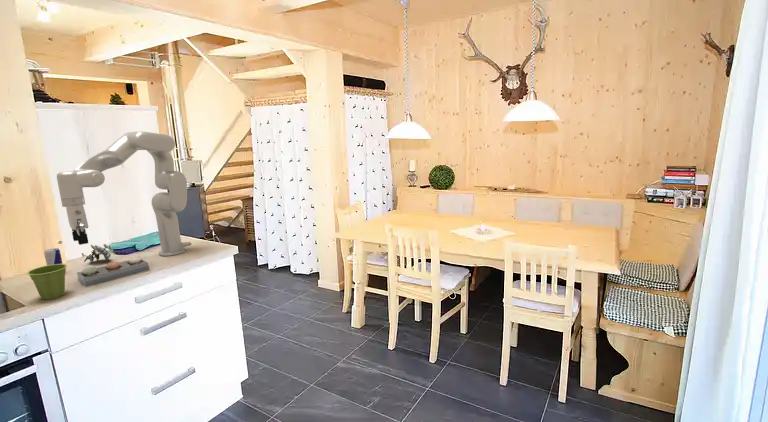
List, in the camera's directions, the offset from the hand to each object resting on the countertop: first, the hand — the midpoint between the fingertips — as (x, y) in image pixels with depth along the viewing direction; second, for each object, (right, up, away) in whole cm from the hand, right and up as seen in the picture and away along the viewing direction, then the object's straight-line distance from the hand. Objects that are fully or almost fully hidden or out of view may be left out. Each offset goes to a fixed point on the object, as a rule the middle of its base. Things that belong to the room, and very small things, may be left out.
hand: (81, 242), depth 166 cm
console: (+8, -15, +10) cm, 20 cm away
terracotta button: (+7, -12, +9) cm, 17 cm away
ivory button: (+13, -10, +15) cm, 23 cm away
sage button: (+2, -14, +3) cm, 14 cm away
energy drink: (-20, -16, +13) cm, 29 cm away
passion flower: (-13, -13, +28) cm, 34 cm away
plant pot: (-2, -20, -11) cm, 23 cm away
